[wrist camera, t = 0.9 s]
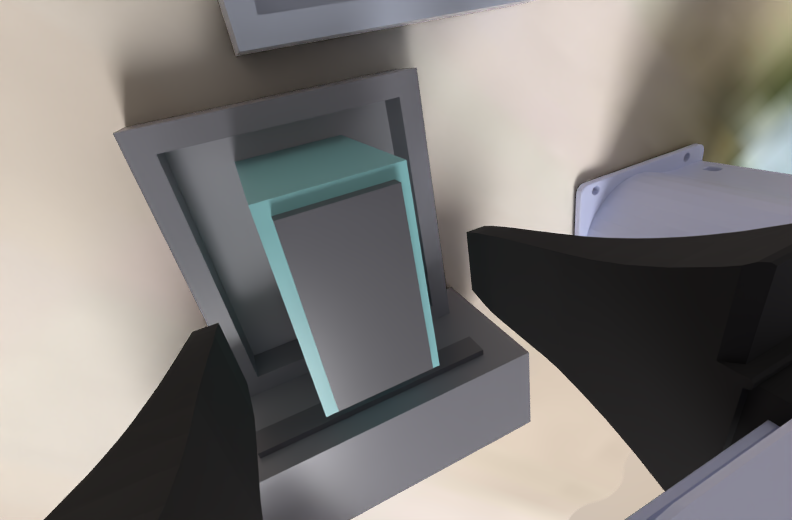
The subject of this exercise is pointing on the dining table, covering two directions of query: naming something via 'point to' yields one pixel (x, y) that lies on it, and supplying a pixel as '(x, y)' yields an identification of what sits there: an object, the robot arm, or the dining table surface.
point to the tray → (332, 18)
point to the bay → (270, 323)
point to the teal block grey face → (345, 263)
